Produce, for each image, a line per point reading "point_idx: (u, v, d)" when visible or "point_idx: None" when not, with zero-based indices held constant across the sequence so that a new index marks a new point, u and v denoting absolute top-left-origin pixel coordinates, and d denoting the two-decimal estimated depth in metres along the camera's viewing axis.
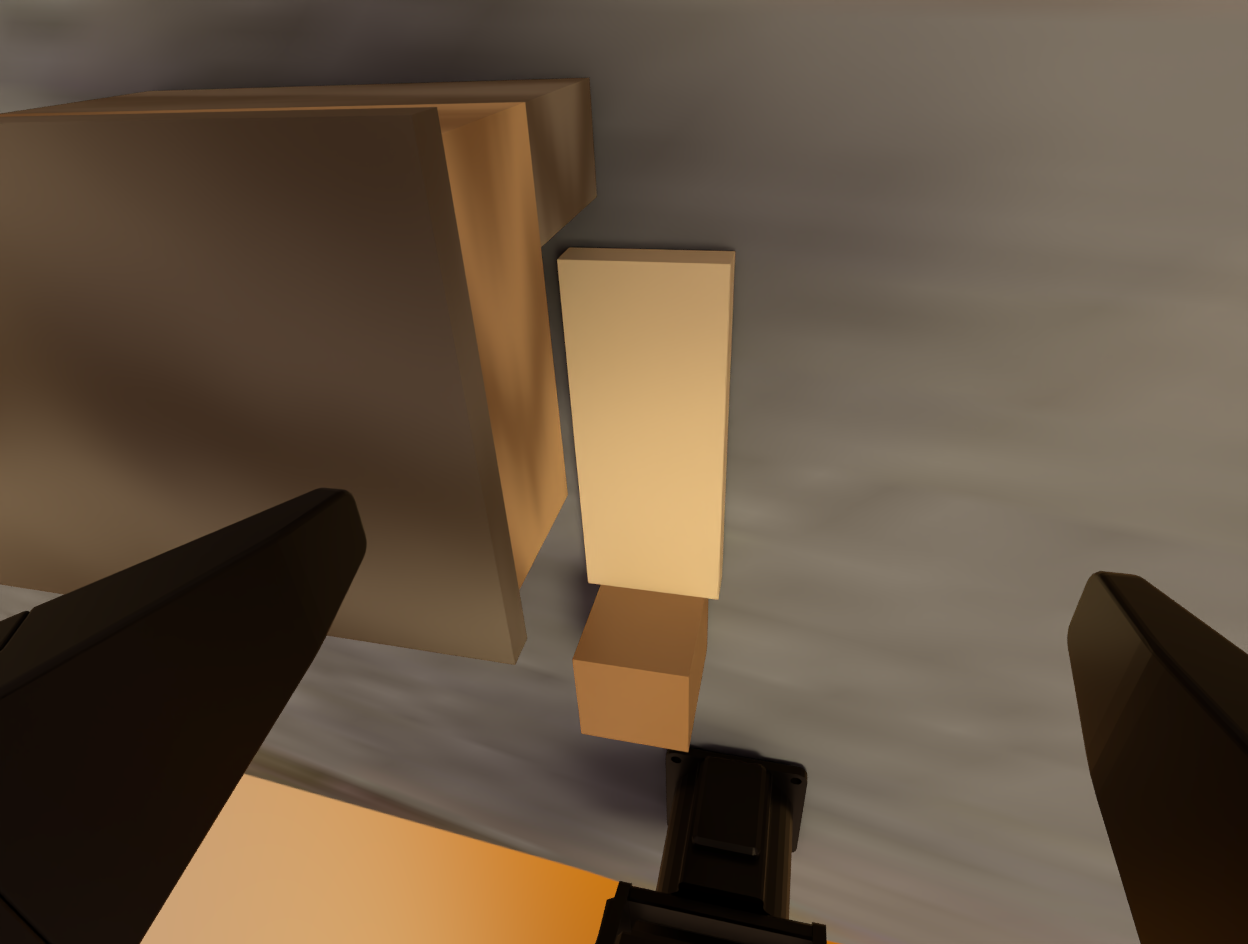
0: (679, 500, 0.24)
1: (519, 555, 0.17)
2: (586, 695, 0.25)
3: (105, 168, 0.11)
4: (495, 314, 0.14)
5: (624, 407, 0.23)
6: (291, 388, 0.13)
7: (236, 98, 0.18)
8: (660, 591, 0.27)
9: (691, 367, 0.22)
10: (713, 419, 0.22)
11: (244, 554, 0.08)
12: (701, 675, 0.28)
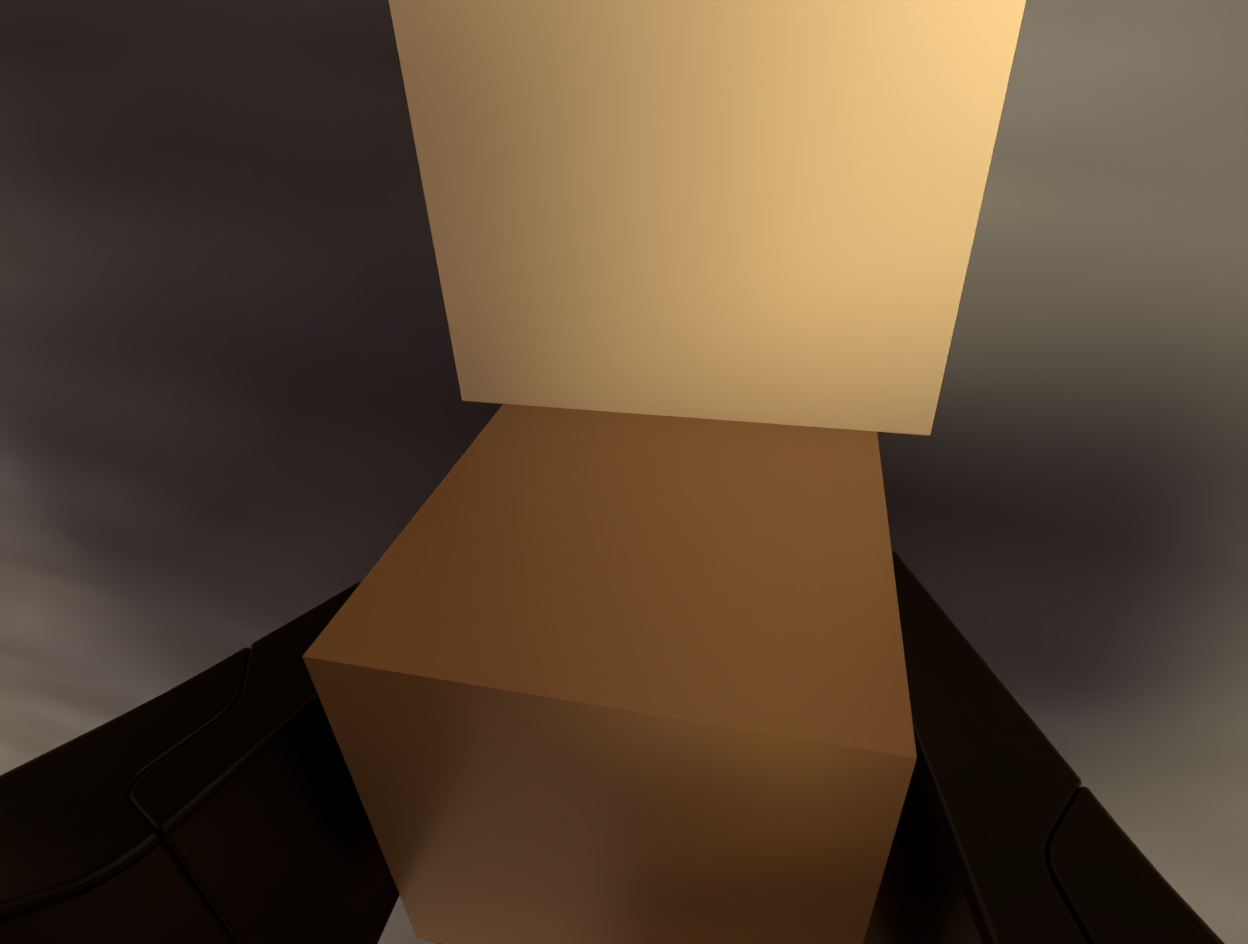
0: None
1: None
2: (403, 815, 0.06)
3: None
4: None
5: None
6: None
7: None
8: (712, 416, 0.07)
9: None
10: None
11: None
12: None
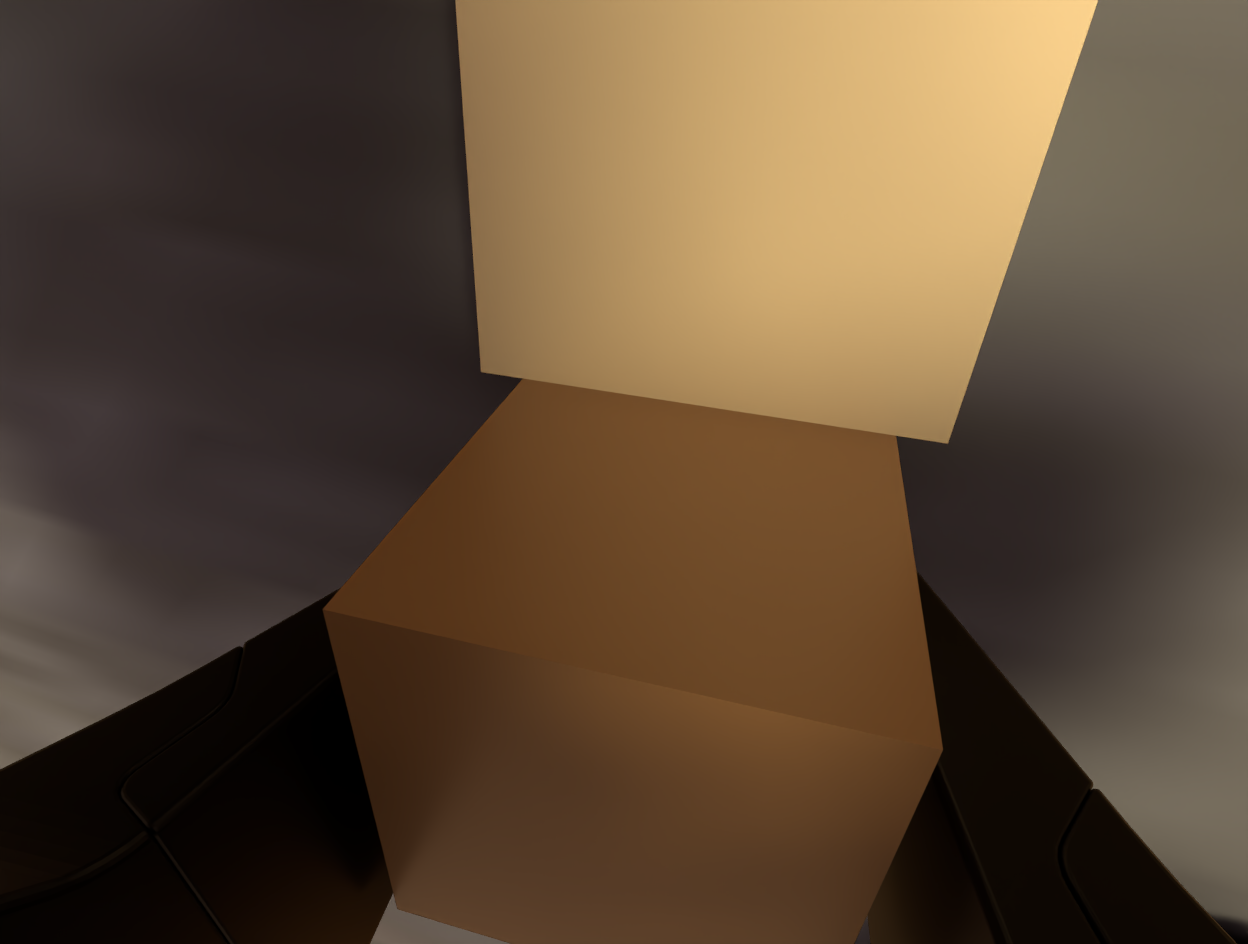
0: None
1: None
2: (403, 781, 0.06)
3: None
4: None
5: None
6: None
7: None
8: (733, 408, 0.08)
9: None
10: None
11: None
12: None
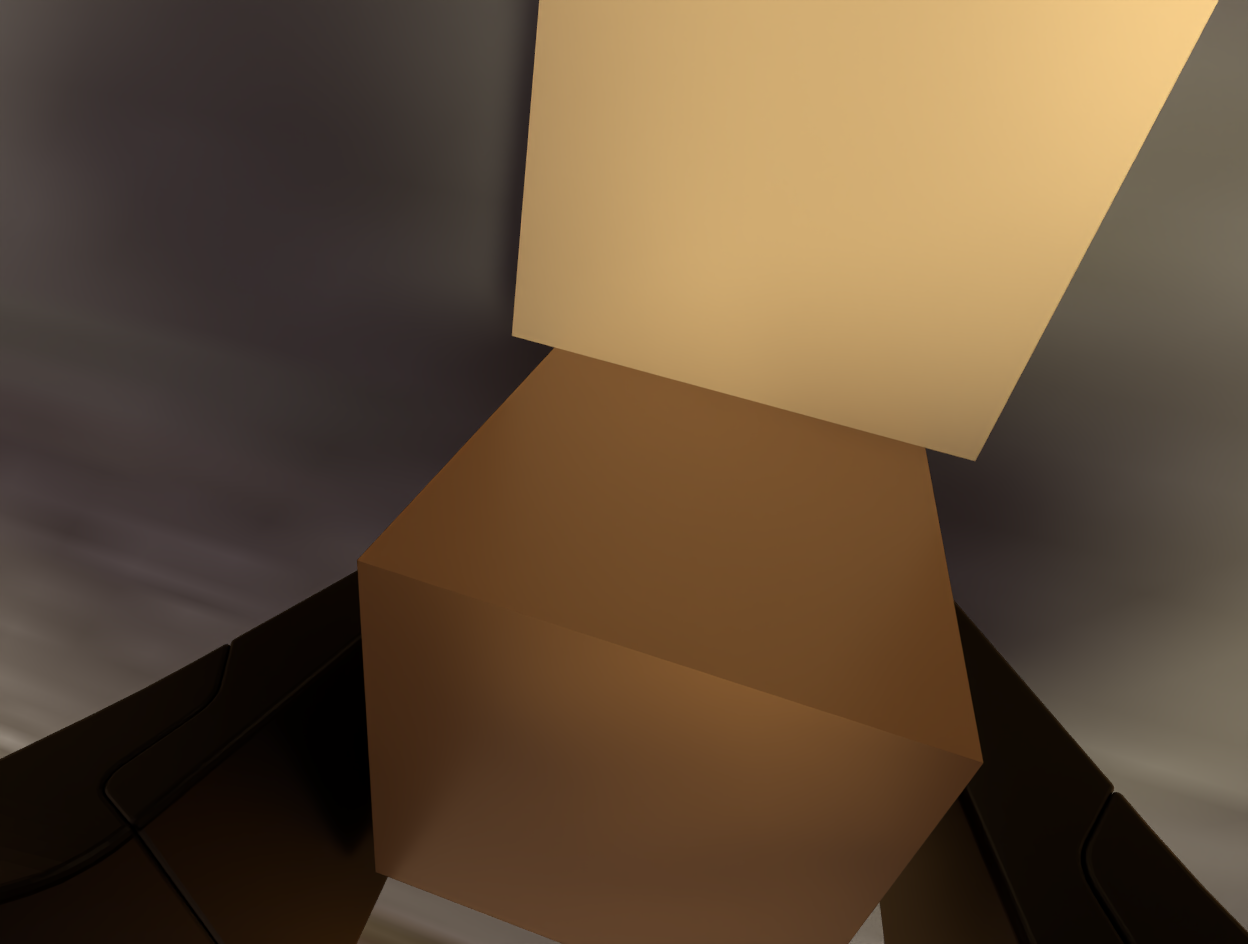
0: None
1: None
2: (409, 744, 0.06)
3: None
4: None
5: None
6: None
7: None
8: (766, 401, 0.07)
9: None
10: None
11: None
12: None
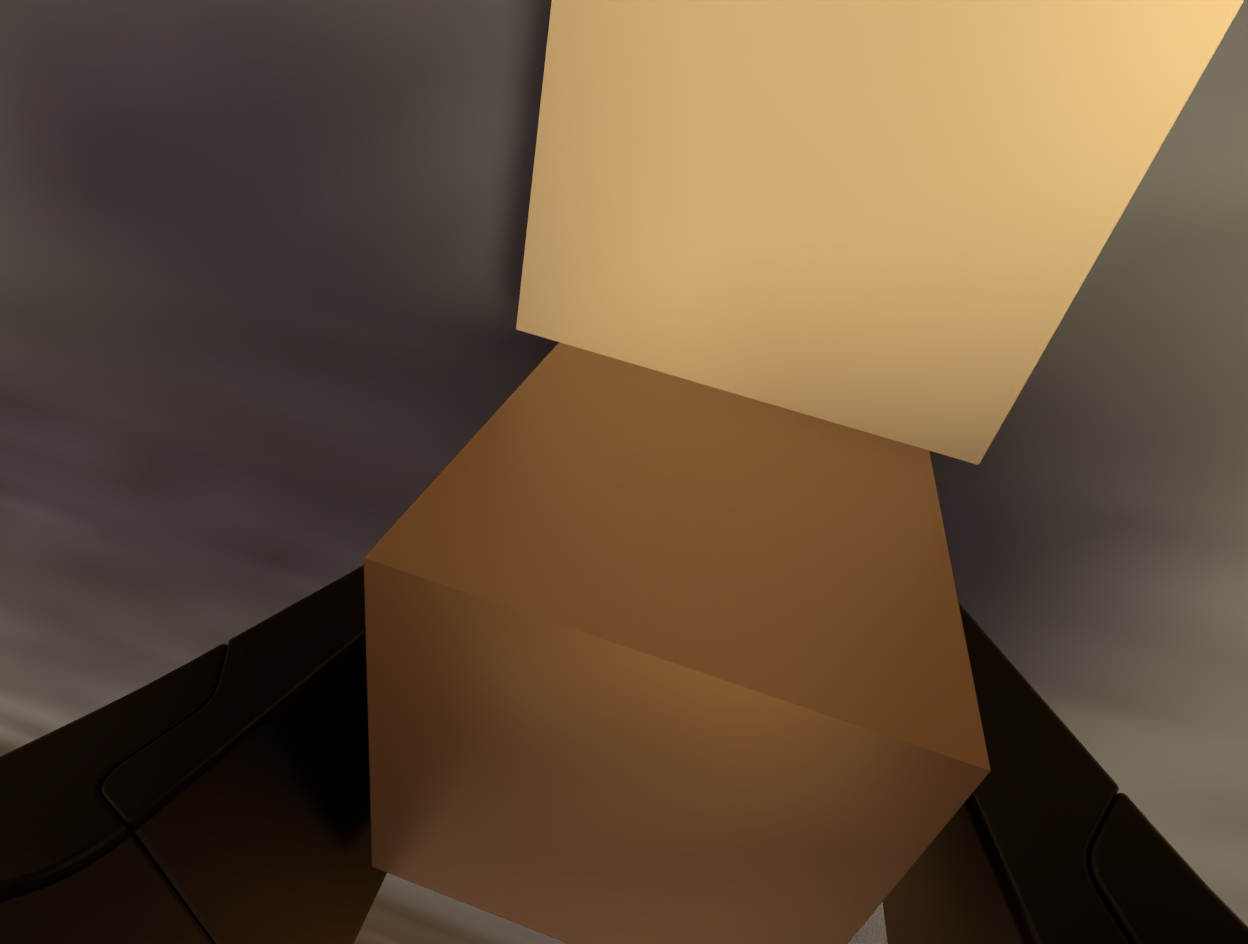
0: None
1: None
2: (410, 741, 0.06)
3: None
4: None
5: None
6: None
7: None
8: (772, 401, 0.07)
9: None
10: None
11: None
12: None
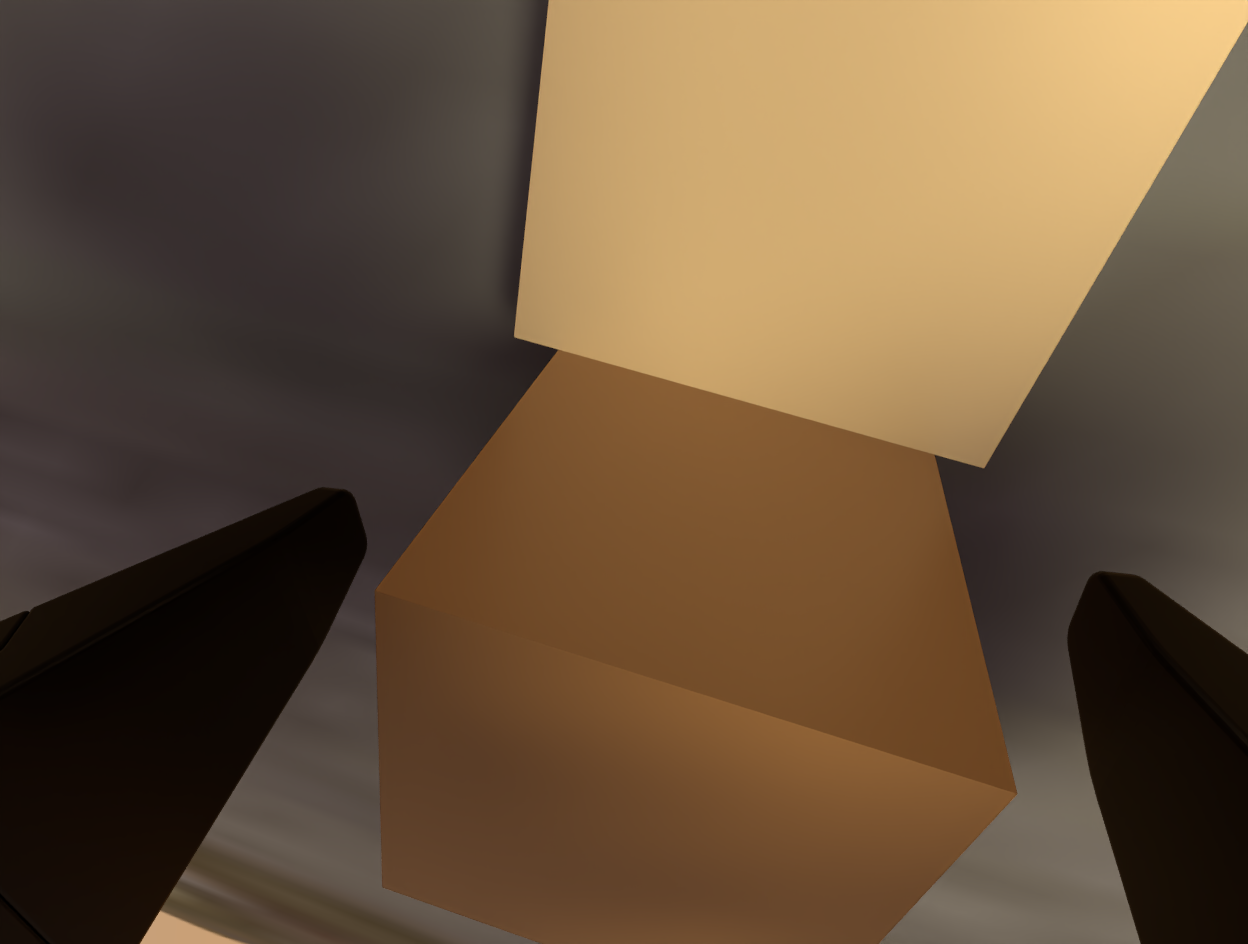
0: None
1: None
2: (423, 768, 0.05)
3: None
4: None
5: None
6: None
7: None
8: (775, 407, 0.07)
9: None
10: None
11: (244, 554, 0.08)
12: None
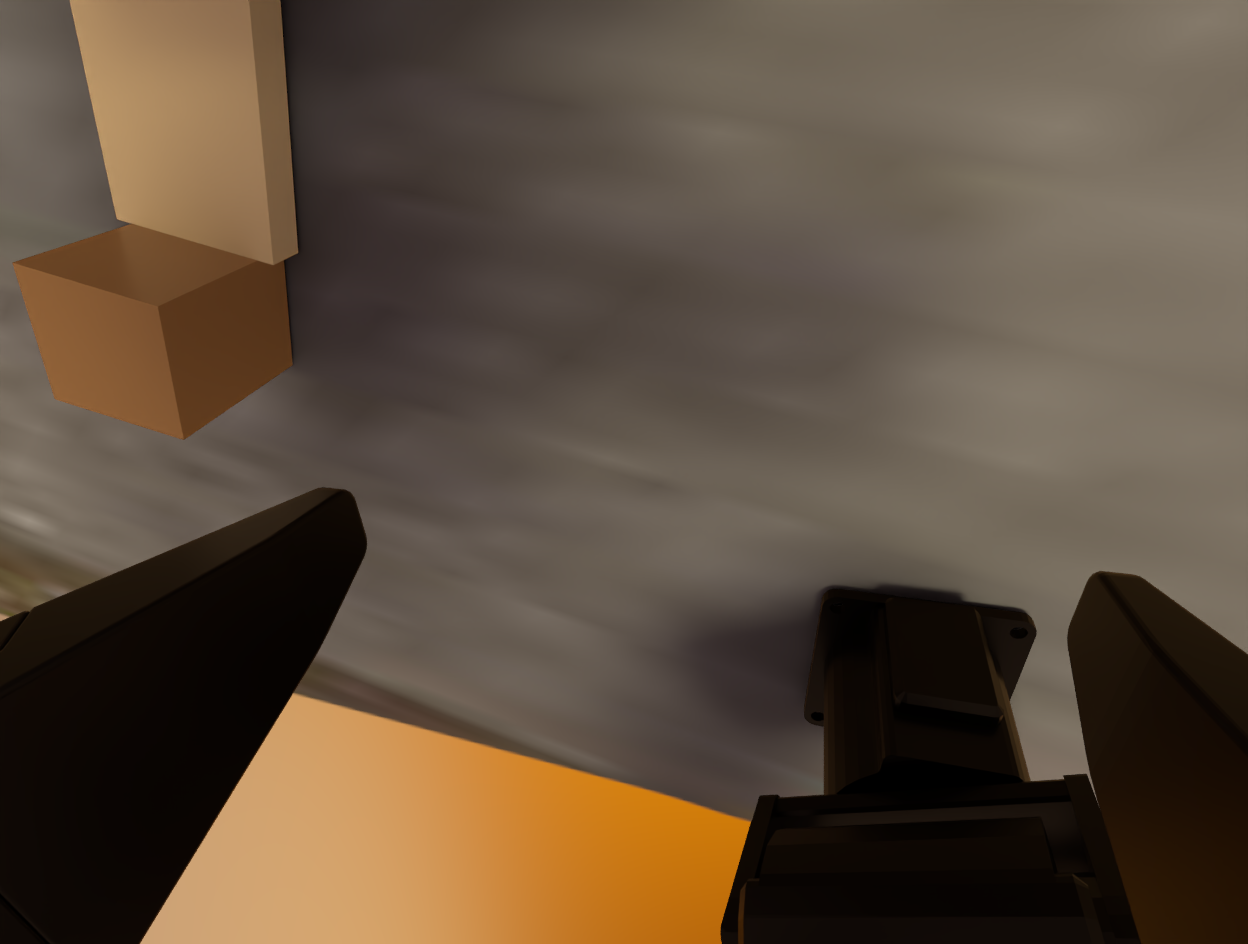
0: (206, 85, 0.18)
1: None
2: (44, 331, 0.19)
3: None
4: None
5: None
6: None
7: None
8: (205, 243, 0.21)
9: None
10: None
11: (244, 554, 0.08)
12: (260, 380, 0.22)
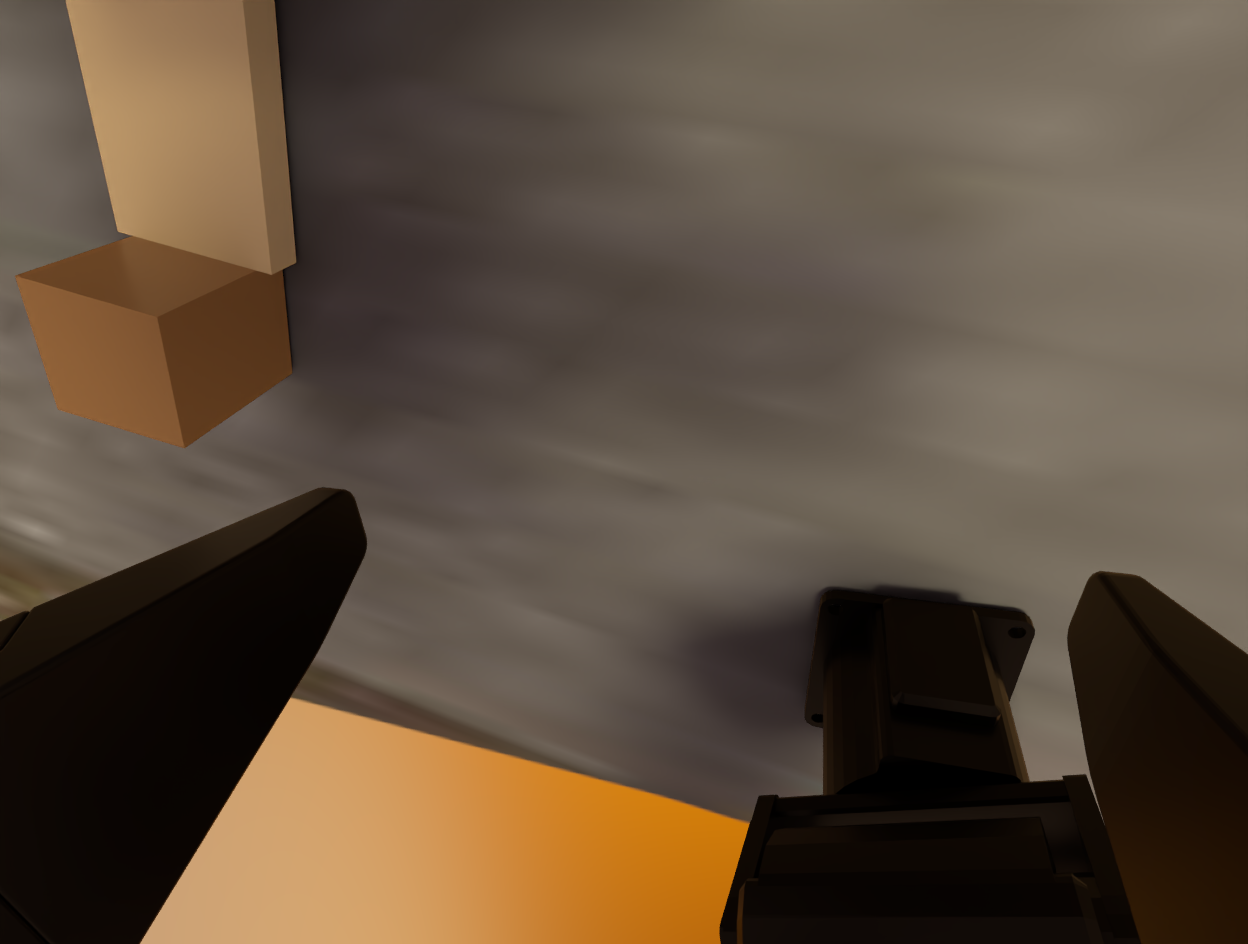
0: (204, 98, 0.18)
1: None
2: (47, 342, 0.19)
3: None
4: None
5: None
6: None
7: None
8: (204, 254, 0.21)
9: None
10: None
11: (244, 554, 0.08)
12: (260, 388, 0.23)
